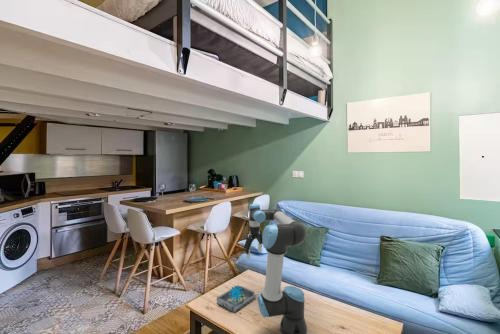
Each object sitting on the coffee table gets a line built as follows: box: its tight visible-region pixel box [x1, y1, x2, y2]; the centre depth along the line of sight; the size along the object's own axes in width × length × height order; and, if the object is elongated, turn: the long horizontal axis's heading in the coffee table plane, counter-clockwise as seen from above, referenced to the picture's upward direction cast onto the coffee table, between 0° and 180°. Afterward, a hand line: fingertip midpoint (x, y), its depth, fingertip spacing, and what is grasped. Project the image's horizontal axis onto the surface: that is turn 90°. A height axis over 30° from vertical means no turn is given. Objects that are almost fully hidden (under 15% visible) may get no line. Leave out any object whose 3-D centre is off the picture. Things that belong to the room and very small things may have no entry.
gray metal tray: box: [216, 284, 257, 314], centre depth 171 cm, size 17×23×4 cm
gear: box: [229, 285, 244, 301], centre depth 172 cm, size 11×6×10 cm
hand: (254, 255), depth 178 cm, fingers open, 13 cm apart
